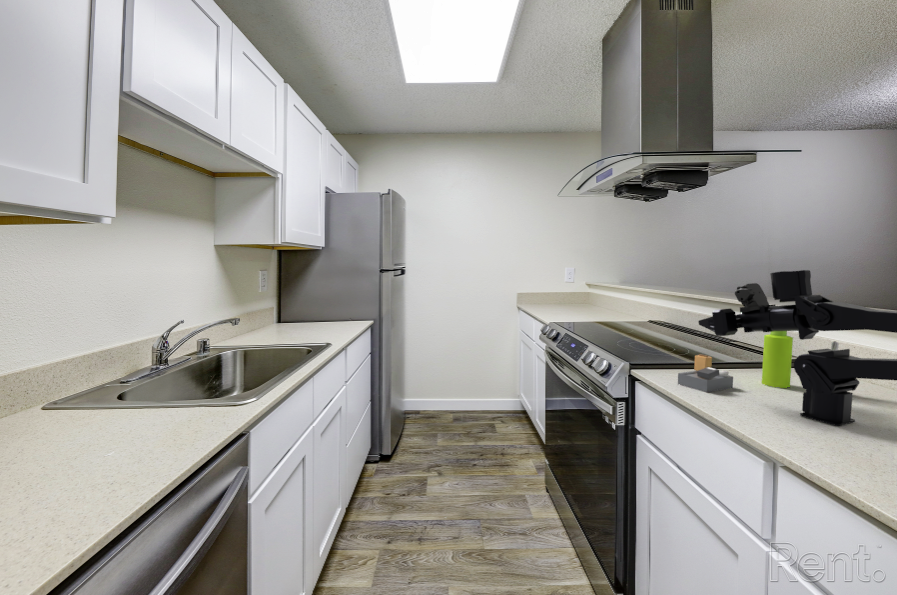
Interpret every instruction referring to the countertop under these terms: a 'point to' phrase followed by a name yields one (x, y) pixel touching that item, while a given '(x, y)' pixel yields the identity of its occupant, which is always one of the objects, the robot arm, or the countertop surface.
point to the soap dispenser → (777, 359)
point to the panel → (706, 381)
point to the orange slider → (702, 362)
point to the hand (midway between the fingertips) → (711, 321)
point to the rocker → (708, 373)
